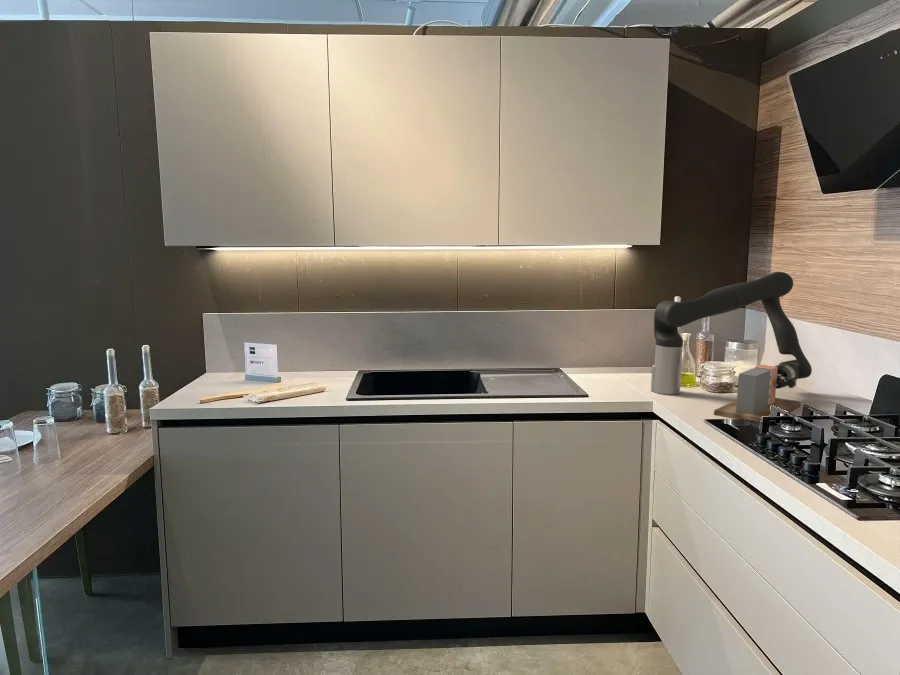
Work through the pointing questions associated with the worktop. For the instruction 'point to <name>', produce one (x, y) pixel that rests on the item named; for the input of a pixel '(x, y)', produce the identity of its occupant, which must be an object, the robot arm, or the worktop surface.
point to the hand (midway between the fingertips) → (764, 382)
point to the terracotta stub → (773, 381)
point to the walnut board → (731, 412)
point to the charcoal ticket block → (753, 390)
